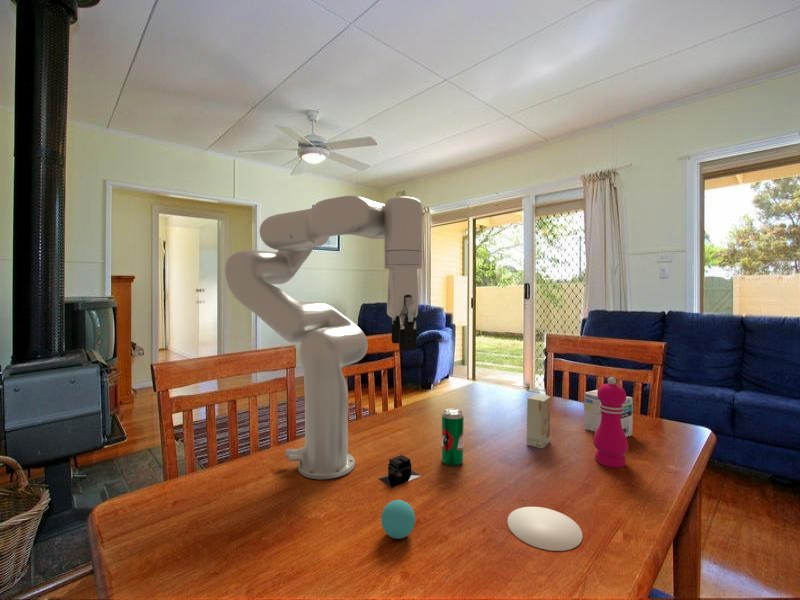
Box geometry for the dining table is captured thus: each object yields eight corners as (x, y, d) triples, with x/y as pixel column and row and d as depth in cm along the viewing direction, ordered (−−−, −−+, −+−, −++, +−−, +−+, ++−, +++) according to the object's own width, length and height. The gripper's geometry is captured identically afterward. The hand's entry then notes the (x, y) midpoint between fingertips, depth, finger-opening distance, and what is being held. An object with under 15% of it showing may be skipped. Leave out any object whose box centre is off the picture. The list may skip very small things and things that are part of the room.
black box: (386, 496, 79) (387, 474, 79) (365, 482, 84) (365, 461, 84) (431, 477, 87) (432, 456, 87) (409, 465, 92) (410, 446, 92)
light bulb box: (633, 435, 109) (634, 397, 109) (620, 441, 106) (621, 401, 105) (595, 424, 118) (596, 388, 118) (582, 429, 115) (583, 392, 114)
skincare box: (542, 449, 100) (543, 401, 100) (525, 445, 103) (526, 398, 102) (550, 441, 105) (551, 395, 105) (534, 437, 108) (534, 393, 107)
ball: (381, 547, 62) (382, 512, 62) (380, 526, 68) (380, 494, 68) (417, 545, 63) (417, 511, 63) (412, 524, 68) (413, 492, 68)
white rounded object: (524, 553, 61) (524, 551, 61) (497, 509, 73) (497, 508, 73) (597, 548, 62) (597, 547, 62) (560, 506, 74) (560, 505, 74)
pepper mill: (631, 461, 93) (633, 377, 93) (623, 472, 88) (625, 382, 87) (598, 452, 98) (600, 372, 97) (588, 462, 93) (590, 377, 92)
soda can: (462, 468, 90) (463, 415, 89) (440, 466, 91) (440, 414, 90) (463, 458, 95) (464, 408, 94) (442, 456, 96) (442, 407, 95)
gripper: (379, 263, 87) (379, 341, 88) (390, 257, 70) (390, 354, 71) (413, 263, 88) (412, 340, 89) (432, 258, 71) (431, 353, 72)
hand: (403, 346), depth 80 cm, fingers open, 9 cm apart
